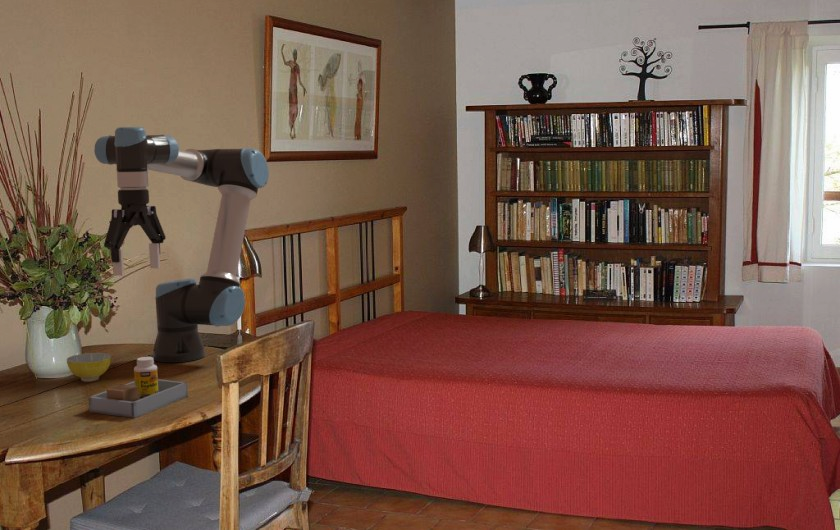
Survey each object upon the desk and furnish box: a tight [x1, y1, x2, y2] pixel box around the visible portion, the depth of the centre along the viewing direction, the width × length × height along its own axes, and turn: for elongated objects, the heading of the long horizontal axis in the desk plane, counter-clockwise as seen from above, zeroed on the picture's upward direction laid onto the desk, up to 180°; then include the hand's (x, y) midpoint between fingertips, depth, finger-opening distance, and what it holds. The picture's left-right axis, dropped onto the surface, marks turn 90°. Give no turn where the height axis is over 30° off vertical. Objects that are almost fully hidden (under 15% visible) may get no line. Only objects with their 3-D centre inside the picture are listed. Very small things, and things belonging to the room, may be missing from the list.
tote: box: [88, 378, 189, 419], centre depth 224 cm, size 20×14×4 cm
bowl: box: [66, 352, 112, 383], centre depth 248 cm, size 11×12×6 cm
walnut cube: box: [106, 384, 138, 402], centre depth 219 cm, size 5×5×5 cm
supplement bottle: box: [133, 356, 159, 400], centre depth 226 cm, size 6×6×10 cm
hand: (137, 271), depth 235 cm, fingers open, 13 cm apart
